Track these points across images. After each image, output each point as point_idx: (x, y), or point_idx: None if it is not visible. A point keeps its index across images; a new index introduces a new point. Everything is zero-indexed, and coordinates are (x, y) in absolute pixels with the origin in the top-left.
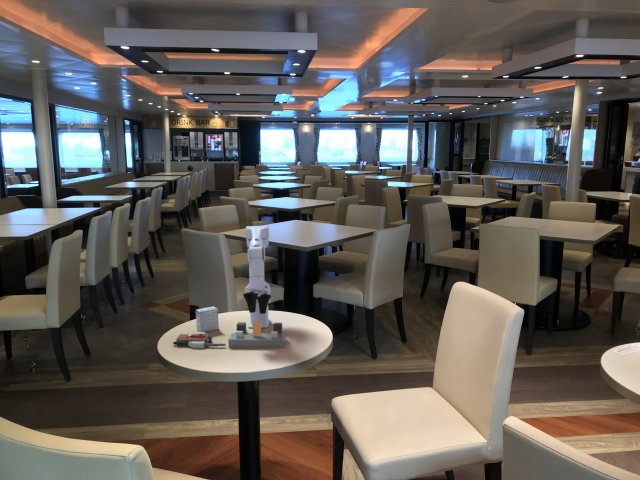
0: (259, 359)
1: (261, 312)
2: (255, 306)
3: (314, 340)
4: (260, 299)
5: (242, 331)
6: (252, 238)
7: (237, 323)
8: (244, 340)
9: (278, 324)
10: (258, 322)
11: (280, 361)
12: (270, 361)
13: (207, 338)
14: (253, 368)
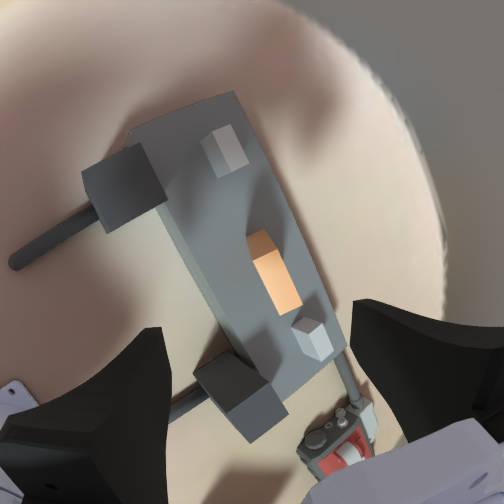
0: (350, 142)
1: (166, 368)
2: (391, 313)
3: (61, 27)
4: (155, 492)
5: (315, 329)
6: None
7: (266, 431)
8: (319, 281)
9: (132, 171)
10: (285, 266)
11: (325, 65)
12: (342, 97)
13: (341, 431)
14: (394, 128)
